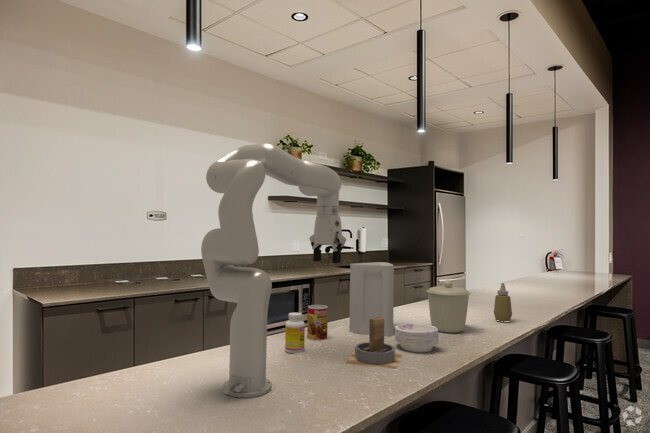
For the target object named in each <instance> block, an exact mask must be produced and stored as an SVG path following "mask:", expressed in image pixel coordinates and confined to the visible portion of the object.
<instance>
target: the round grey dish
mask: <svg viewBox="0 0 650 433" xmlns="http://www.w3.org/2000/svg"><path fill="white" fill-rule="evenodd" d="M368 347H369V342H366V341H365V342H362V343H361V342H360V343H357V344H356V345H355V346H354V351H355V357H356V360H358V361H360V362H363V363H367V364H375V365H382V364H389V363H392V362H394V360H395V353H396V347H394V346H393V345H392V344H387V343H385V342H384V349H387V352H379V353H376V352H367V351H363V349H365V348H368Z"/></svg>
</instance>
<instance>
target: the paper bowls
mask: <svg viewBox="0 0 650 433" xmlns="http://www.w3.org/2000/svg"><path fill="white" fill-rule="evenodd" d="M439 332H440V331H438V328H436V327H434V326H432V324H431V325H430V324H423V323H401V324H397V325H395V326H394V341H395V342H397V343H398V344H399V345H400V348H401V349H403V350H405V351H408V352H413V353H426V352H431V351H432V349H433V347H434V346H435V345H438V344H439Z"/></svg>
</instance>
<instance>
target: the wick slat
mask: <svg viewBox="0 0 650 433" xmlns="http://www.w3.org/2000/svg"><path fill="white" fill-rule="evenodd" d="M368 336H369V339H368V341H369V352H375V351H378V350H382V349H384V343H385V336H384V318H379V317H377V318H373V319H370V326H369V335H368Z"/></svg>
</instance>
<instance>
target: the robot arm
mask: <svg viewBox="0 0 650 433" xmlns="http://www.w3.org/2000/svg"><path fill="white" fill-rule="evenodd" d="M266 176H268V177H270V178H272V179H274V180H277V181H279V182H281V183H282V184H285V185H287V186H288V185H289V186H296V187H298V189H299V191H300V192H301V194H302V195H304V196H307V197H317V199H316V217H315V221H314V231H313V234H312V235H311V236H309V242H310V246H311V247H312V248H311V249H312V250H313V255H312V256H313V257H312V258H313V259H312V261H313V262H321V261H322V249H321V248H322V247H323V246H331V247H332V249H333V251H332V257H331V258H332V260H331V261H332V263H333V264H341V262H342V261H341V256H342V255H341V253H342V251H343V248H344V247H345V244H346V241H347V238H346V237H345V236H343V227H342V221H341V216H339V214H340V208H339V207H340V204H339V202H340V197H339V196H340V191H341V188H342V180H341V178H340V175H339V174H338V173H337V172H336V171H335V170H334V169H332V168H330V167H329V166H326V165H324V164H320V163H316V162H313V161H309V160H305V159H301V158H297V157H295V156H294V155H292V154H291V153H289V152H287V151H285V150H283V149H281V147H278V146H276V145H275V144H272V143H268V142H262V143H255V144H254V143H253V144H246V145H243V146H240V147H238V148H236V149H234V150H233V151H230V152H229V153H227V154H226V155H224V156H222V157H220V158H219V159H218V160H216V161H214V162H213V163H212V164H211V165H210V166H209V167H208V168H207V170H206V176H205V178H206V179H205V180H206V183H207V186H208V187H209V189H210V190H212V191H213V192H215V193H217V194H223V196H222V197H221V199H220V201H219V205H218V210H217V211H218V213H217V214H218V221H219V227H217V228H214V229H211V230H209V231H207V233H206V234H204V237H203V239H202V241H201V247H200V250H201V259H202V263H203V267H204V272H205V276H206V280H207V285H208V288H209V291H210V293H211V295H212V296H213V297H214V298H215V299H217V300H219V301H224V302H228V303H229V302H230V303H236V308H234V311H233V313H232V314H231V318H230V323H229V324H230V326H229V332H230V334H229V367H228V369H229V372H228V373H229V374H228V375H229V376H228V380H227V381H225V382H224V384H223V385H222V389H221V390H222V393H223V394H225V395H227V396H230V397H234V398H242V399H243V398H254V397H255V398H256V397H260V396H264V395H265V394H267V393H269V392H270V391H271V390H272V388H273V385H272V384H273V383H272V381H271V380H270V379H268V378H267V346H268V345H267V342H268V339H267V338H268V310H269V305H270V304H269V302H270V298H271V294H272V288H273V285H272V279H271V277H270V275H269V274H268V273H267V272H266V271H265V270H263V269H259V268H256V267H247V266H248V265H252V264H254V263H255V262H256V261H257V260H258V258H259V253H260V250H259V249H260V248H259V242H258V241H259V240H258V235H257V231H256V227H255V221H254V214H253V206H254V201H255V198H256V196H257V195H258V193H259V191H260V190H261V187H262V186H263V184H264V182H265V179H266Z"/></svg>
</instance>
